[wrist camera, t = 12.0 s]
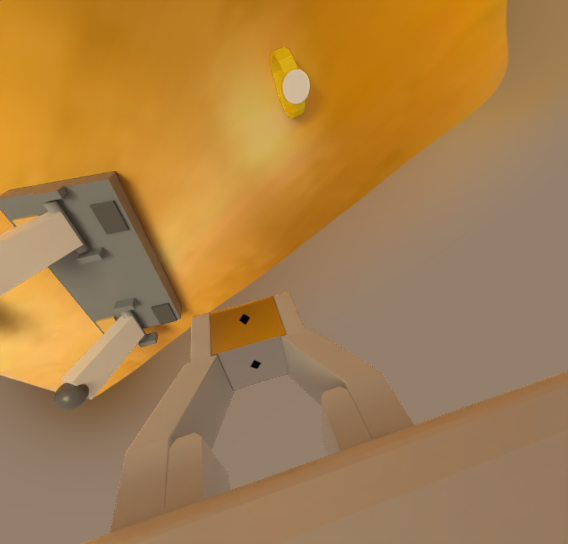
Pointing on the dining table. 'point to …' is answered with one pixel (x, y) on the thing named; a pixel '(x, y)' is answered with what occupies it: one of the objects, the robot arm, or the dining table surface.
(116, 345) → the lever
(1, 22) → the dining table surface
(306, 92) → the watch
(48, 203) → the lever
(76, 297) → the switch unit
